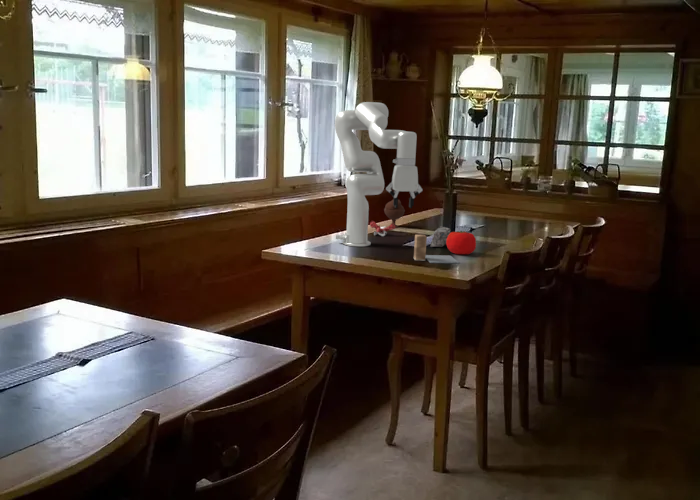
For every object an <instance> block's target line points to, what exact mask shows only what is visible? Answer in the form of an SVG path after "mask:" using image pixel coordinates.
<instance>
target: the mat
mask: <svg viewBox="0 0 700 500" xmlns="http://www.w3.org/2000/svg"><path fill="white" fill-rule="evenodd" d="M425 260H426V261H428V262H429V263H430V264H460V261H458V260H457V259H455V258H454V257H453V256H452V255H447V254H446V255H443V254H441V255H439V254H433V255H432V254H426V257H425Z"/></svg>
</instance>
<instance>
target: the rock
mask: <svg viewBox="0 0 700 500" xmlns="http://www.w3.org/2000/svg"><path fill="white" fill-rule="evenodd" d="M450 233H451V228H450V227H445V226H442V225H440V226H439V227H438V228H437V229H435V231H434V233H433V236H432V239H431V242H430V247H431V248H442V247H444V246H447V245H446V241H447V237H448V235H449V234H450Z"/></svg>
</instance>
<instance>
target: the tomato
mask: <svg viewBox="0 0 700 500" xmlns="http://www.w3.org/2000/svg"><path fill="white" fill-rule="evenodd" d="M445 246H446V247H447V250H448V251H449V252H451V253H453V254H455V255H471V254H472V253H473V252H474V251H475V250H476V246H477V241H476V237H475V235H474V234H473V233H472V232H471V233H470V232H467V231H465V230H460V231H459V230H457V231H450V234H449V235H448V237H447V241H446V245H445Z"/></svg>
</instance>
